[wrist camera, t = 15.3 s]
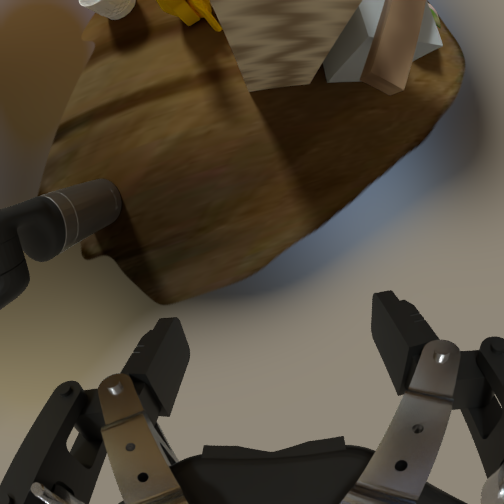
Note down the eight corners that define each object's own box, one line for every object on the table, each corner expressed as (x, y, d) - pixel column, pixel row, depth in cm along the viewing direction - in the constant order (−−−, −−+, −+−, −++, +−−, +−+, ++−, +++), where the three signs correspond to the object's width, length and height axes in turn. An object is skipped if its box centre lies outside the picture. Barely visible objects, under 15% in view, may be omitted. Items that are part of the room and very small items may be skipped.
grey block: (327, 82, 40) (368, 36, 19) (304, -3, 34) (321, -76, 13) (376, 81, 39) (442, 45, 18) (352, -2, 33) (391, -66, 12)
